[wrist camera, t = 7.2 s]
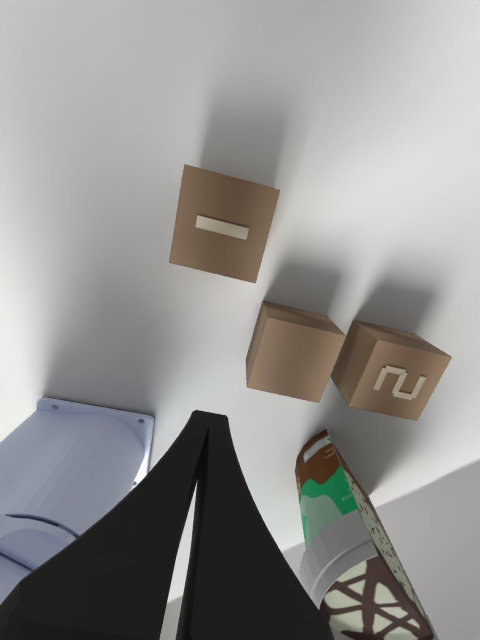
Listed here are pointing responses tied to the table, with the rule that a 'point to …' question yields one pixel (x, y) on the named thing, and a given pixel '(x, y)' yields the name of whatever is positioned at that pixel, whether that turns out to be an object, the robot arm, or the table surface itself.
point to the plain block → (292, 352)
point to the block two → (387, 370)
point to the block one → (222, 224)
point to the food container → (351, 554)
